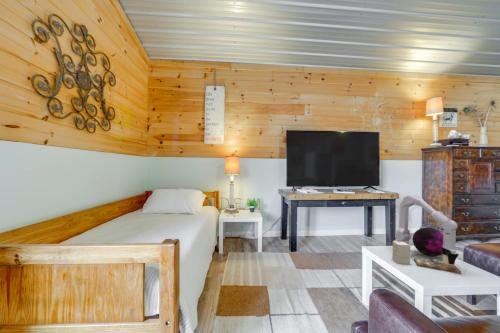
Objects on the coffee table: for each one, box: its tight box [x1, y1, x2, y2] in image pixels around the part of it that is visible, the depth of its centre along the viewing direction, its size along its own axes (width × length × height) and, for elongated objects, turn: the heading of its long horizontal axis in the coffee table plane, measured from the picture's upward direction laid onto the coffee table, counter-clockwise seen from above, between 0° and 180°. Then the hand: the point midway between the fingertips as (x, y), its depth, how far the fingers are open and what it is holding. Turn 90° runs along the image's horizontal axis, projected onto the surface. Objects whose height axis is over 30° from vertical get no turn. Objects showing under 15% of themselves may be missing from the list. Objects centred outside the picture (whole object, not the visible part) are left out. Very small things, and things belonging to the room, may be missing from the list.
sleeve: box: [442, 255, 456, 268], centre depth 137 cm, size 5×5×6 cm
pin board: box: [413, 257, 462, 275], centre depth 140 cm, size 21×11×4 cm, turn 64°
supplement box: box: [391, 240, 411, 265], centre depth 146 cm, size 7×7×13 cm
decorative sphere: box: [412, 227, 443, 258], centre depth 159 cm, size 20×20×20 cm
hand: (449, 261), depth 137 cm, fingers open, 7 cm apart
